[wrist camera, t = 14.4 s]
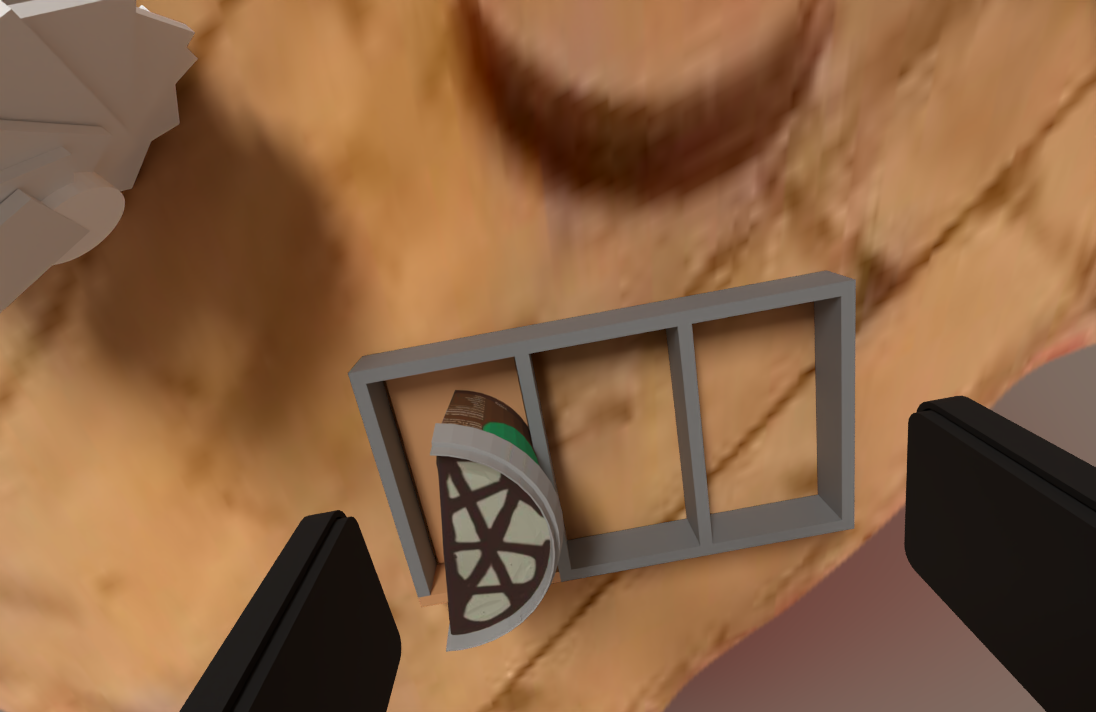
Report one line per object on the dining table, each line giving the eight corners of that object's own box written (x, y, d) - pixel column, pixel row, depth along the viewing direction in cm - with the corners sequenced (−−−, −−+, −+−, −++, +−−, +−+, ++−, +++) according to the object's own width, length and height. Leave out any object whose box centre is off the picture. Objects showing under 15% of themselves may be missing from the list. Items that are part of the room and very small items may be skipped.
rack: (826, 270, 33) (855, 279, 31) (829, 502, 39) (854, 528, 36) (362, 356, 34) (347, 373, 31) (428, 575, 39) (421, 607, 36)
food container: (554, 533, 38) (566, 654, 28) (464, 537, 38) (446, 659, 28) (553, 365, 34) (567, 438, 25) (453, 367, 34) (428, 443, 24)
